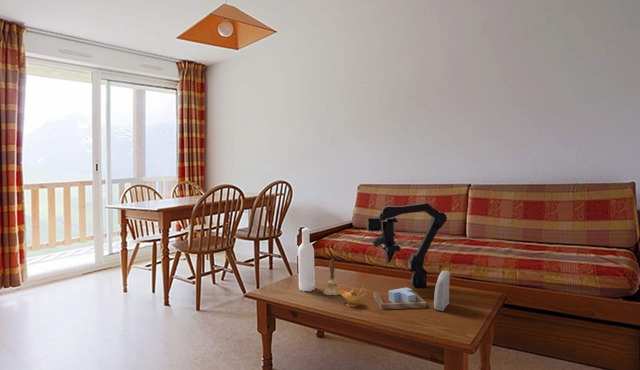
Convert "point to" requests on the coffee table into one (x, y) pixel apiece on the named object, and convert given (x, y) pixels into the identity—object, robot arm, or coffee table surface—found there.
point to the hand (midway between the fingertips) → (389, 262)
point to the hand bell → (331, 281)
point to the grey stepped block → (402, 295)
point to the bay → (418, 304)
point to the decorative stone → (442, 291)
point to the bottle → (306, 263)
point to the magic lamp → (350, 295)
